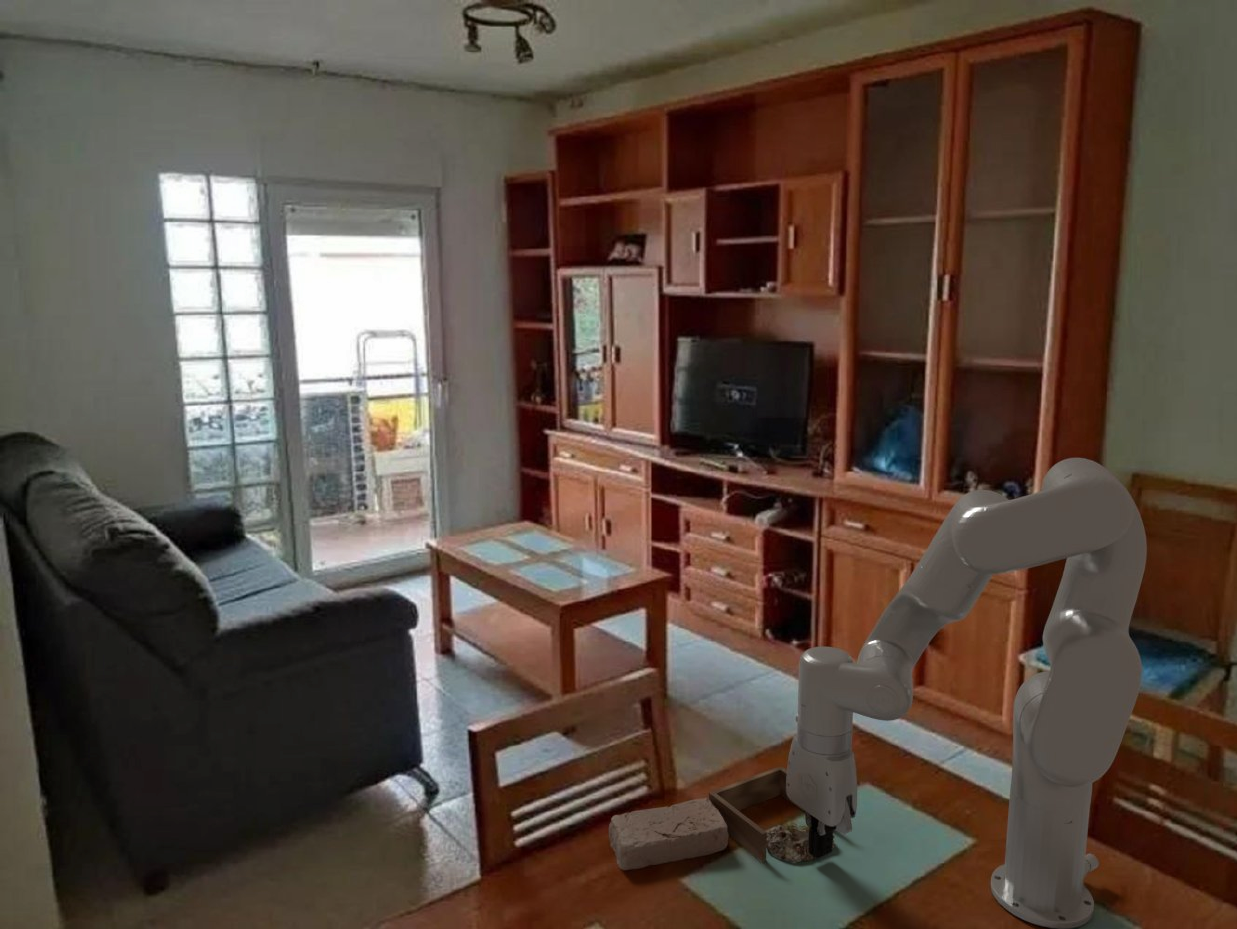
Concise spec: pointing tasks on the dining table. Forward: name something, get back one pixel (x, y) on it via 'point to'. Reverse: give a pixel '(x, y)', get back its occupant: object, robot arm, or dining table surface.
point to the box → (746, 796)
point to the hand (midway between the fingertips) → (820, 852)
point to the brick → (667, 834)
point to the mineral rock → (789, 842)
